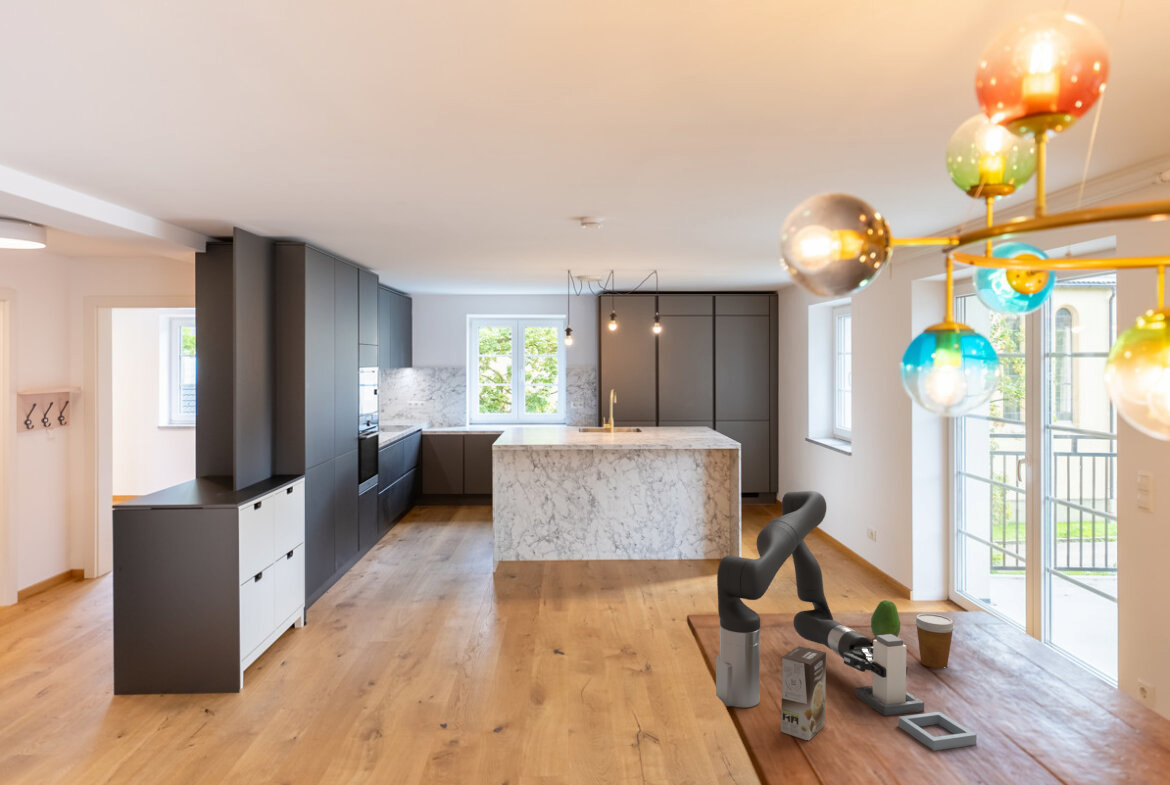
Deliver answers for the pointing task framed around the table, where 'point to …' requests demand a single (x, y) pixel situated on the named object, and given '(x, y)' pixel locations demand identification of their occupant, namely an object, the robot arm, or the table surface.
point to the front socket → (942, 742)
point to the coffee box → (803, 692)
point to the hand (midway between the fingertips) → (895, 672)
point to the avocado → (885, 619)
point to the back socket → (889, 709)
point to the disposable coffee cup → (934, 639)
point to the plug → (890, 669)
